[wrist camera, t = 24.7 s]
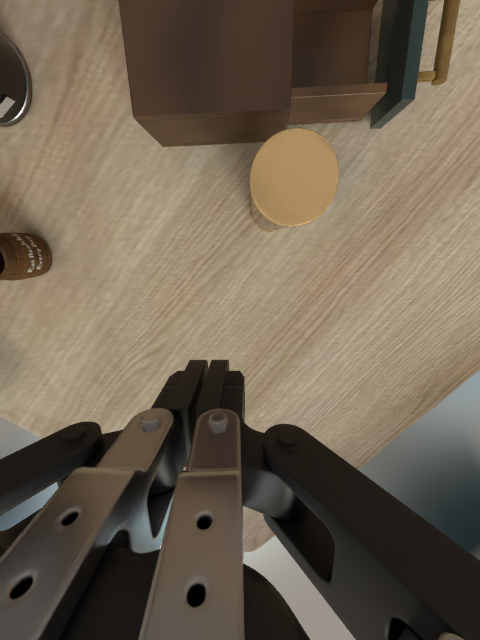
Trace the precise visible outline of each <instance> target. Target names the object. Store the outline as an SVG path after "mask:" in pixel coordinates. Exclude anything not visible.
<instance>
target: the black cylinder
mask: <svg viewBox="0 0 480 640" xmlns="http://www.w3.org/2000/svg"><path fill="white" fill-rule="evenodd" d="M338 181H339V166H338V161H337V158H336V155H335V153H334V151H333V149H332V147H331V146H330V144H329V143H328V142H327V141H326V140H325V139H324V138H323V137H322V136H321V135H319V134H318V133H316V132H314V131H312V130H309V129H305V128H290V129H286V130H283V131H280V132H278V133H276V134H275V135H273V136H272V137H270V138H269V139H268V140H267V141H266V142H265V143H264V144H263V145H262V146H261V148H260V149H259V150H258V152H257V154H256V156H255V158H254V160H253V163H252V166H251V171H250V192H251V206H252V209H251V214H252V219H253V221H254V223H255V224H256V226H257V227H258V228H260V229H261V230H264V231H268V232H271V231H276V230H279V229H283V228H288V227H295V226H301V225H304V224H307V223H309V222H311V221H313V220H315V219H316V218H318V217H319V216H320V215H321V214H322V213H323V212H324V211H325V210H326V209H327V208H328V206H329V205H330V203H331V202H332V200H333V198H334V196H335V193H336V190H337V187H338Z"/></svg>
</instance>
